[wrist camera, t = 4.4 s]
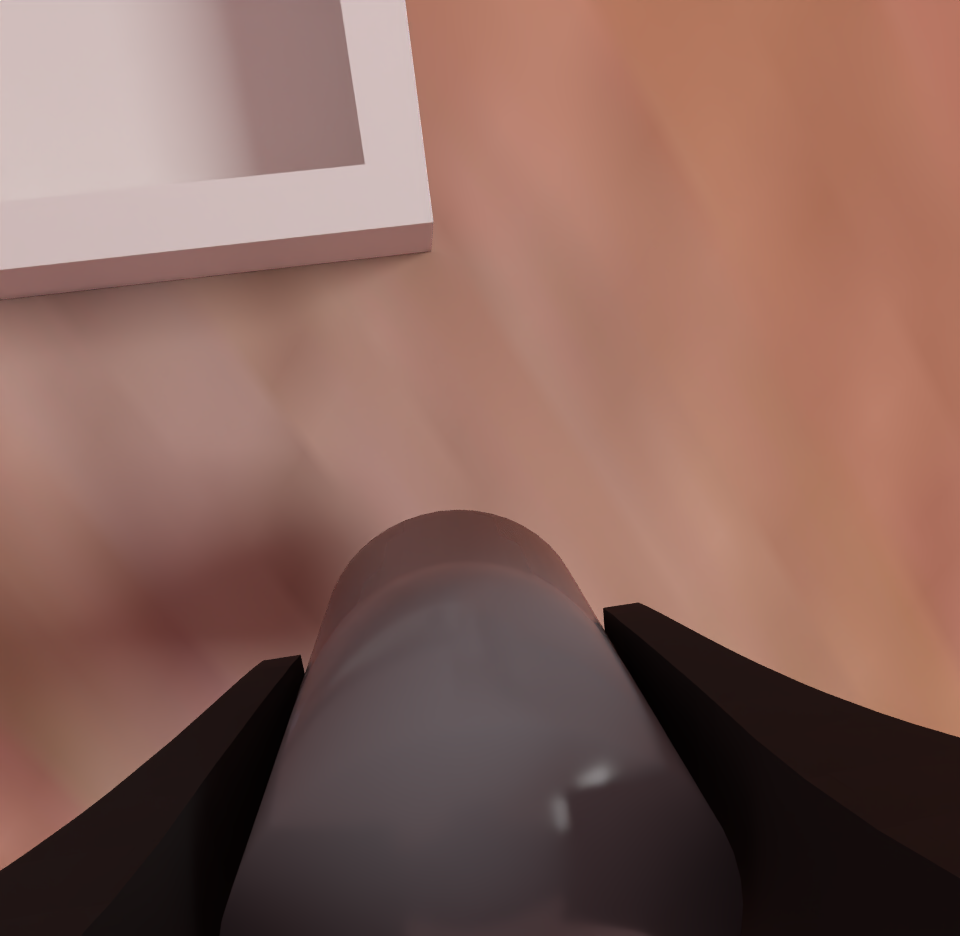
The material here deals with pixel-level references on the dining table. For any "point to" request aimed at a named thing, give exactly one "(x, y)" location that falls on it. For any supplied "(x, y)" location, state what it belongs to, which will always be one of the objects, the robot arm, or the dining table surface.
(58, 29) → the white tub
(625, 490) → the dining table surface
